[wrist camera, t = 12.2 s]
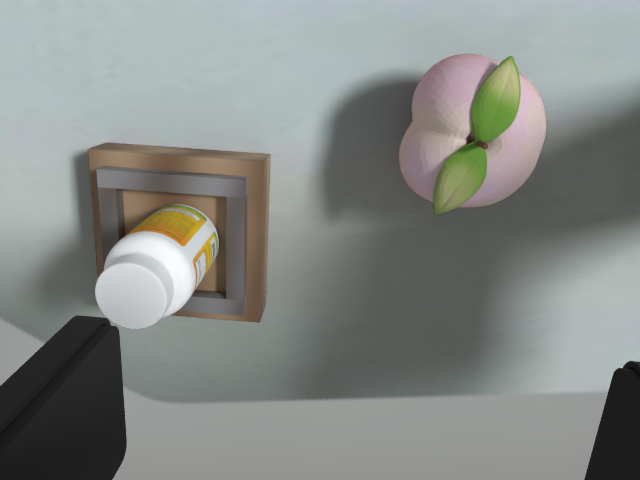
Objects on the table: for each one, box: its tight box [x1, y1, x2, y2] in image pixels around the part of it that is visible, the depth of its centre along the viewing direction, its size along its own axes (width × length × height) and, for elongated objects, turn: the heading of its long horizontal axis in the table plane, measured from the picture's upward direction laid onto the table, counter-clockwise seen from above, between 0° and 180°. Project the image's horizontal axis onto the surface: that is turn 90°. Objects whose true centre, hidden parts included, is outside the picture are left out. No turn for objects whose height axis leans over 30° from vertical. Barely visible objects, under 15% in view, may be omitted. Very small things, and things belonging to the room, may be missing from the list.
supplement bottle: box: [95, 204, 219, 329], centre depth 34 cm, size 5×5×10 cm
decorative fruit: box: [399, 54, 546, 215], centre depth 33 cm, size 9×8×10 cm
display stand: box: [88, 143, 270, 322], centre depth 40 cm, size 12×12×4 cm
